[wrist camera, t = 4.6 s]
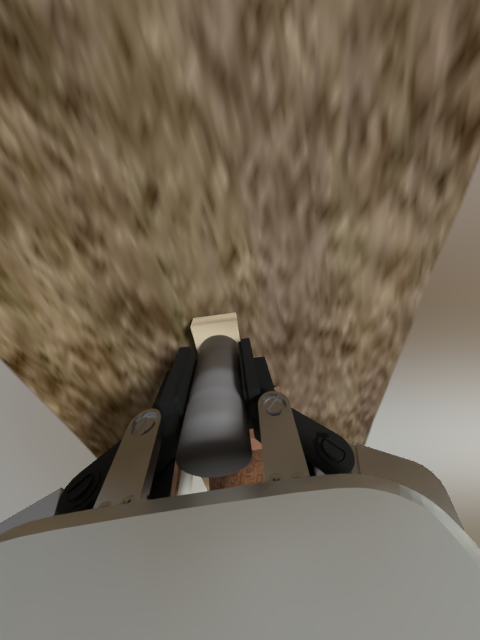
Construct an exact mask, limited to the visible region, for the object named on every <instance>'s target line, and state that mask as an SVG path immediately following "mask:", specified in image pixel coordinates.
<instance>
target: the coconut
mask: <svg viewBox="0 0 480 640" xmlns="http://www.w3.org/2000/svg"><path fill="white" fill-rule="evenodd" d="M259 483H265V476H264V465H263V454H262V449H257V450H252V459H251V461H250V463H249V464H248V465H247V466H246V467H245V468H243V469H242V470H240V471H238V472H236V473H234V474H231V475H227V476H222V477H209V487H210V491H212V490H218V489H225V488H232V487H239V486H245V485H252V484H259Z"/></svg>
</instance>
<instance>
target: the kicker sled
mask: <svg viewBox="0 0 480 640" xmlns="http://www.w3.org/2000/svg"><path fill="white" fill-rule="evenodd" d="M190 327H191V331H192V334H193V338H194V341H195V345H196V348H197V352H198V358H197V363H196V367H195V372H194V376H193V381H192V385H191V390H190V394H189V399H188V403H187V408H186V412H185V416H184V421H183V425H182V430H181V434H180V439H179V443H178V448H177V452H176V457H175V461H176V464H177V466H178V467H179V468H180V469H181V470H183V471H184V472H186V473H188V474H191V475H194V476H198V477H222V476H227V475H231V474H234V473H236V472H238V471H240V470H242V469H243V468H245V467H246V466H247V465H248V464H249V463H250V461H251V459H252V450H257V449H262V444H261V443H260V442H259V441H258V440H256V439H255V437H254V430H253V429H249V423H248V414H247V410H246V406H245V399H244V393H243V385H242V376H241V367H240V358H239V348H238V342H240V338H239V331H238V324H237V316H236V312H235V313H228V314H221V315H213V316H206V317H199V318H193V321H192V323H191V326H190ZM274 389H275V391H277V392H280V393H281V390H280V387H274Z"/></svg>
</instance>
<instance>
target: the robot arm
mask: <svg viewBox="0 0 480 640" xmlns="http://www.w3.org/2000/svg"><path fill="white" fill-rule="evenodd" d="M238 348H239V358H240V367H241V376H242V385H243V393H244V399H245V406H246V410H247V414H248V423H249V429H253V430H254V437H255V439H256V440H258V441H259V442H260V443H261V444H262V454H263V465H264V476H265V483H259V484H252V485H245V486H239V487H232V488H225V489H218V490H212V491H205V492H199V493H192V494H185V495H179V496H175V492H176V484H177V477H178V469H179V467H178V466H177V464H176V461H175V457H176V452H177V448H178V443H179V439H180V434H181V430H182V425H183V421H184V416H185V412H186V408H187V403H188V399H189V394H190V390H191V385H192V381H193V376H194V372H195V367H196V363H197V359H196V356H195V352H194V349H193V348H190V347H181V348H180V349H179V351H178V354H177V356H176V359H175V362H174V364H173V367H172V369H171V370H169V371H168V372H167V374H166V376H165V378H164V381H163V383H162V385H161V388H160V390H159V393H158V395H157V397H156V400H155V402H154V405H153V407H152V409H147V410H144V411H142V412H141V413H139V414H138V415H136V416H135V417H134V418H133V419H132V421H131V422H130V423H129V425H128V427H127V429H126V432H125V434H124V437H123V439H122V440H121V441H119V442H118V443H117V444H115V445H114V446H113V447H112V448H110V449H109V450H108V451H107V452H105V453H104V454H103V455H102V456H100V457H99V458H98V459H97V460H95V461H94V462H93V463H92V464H90V465H89V466H88V467H87V468H85V469H84V470H83V471H81V472H80V473H79V474H78V475H77V476H76V477H75V478H73V479H72V481H71V482H70V483H69V484H68V485H67V486H66V488H65V489H62V488H60V489H58V490H56V491H55V492H53V493H51V494H49V495H48V496H46V497H44V498H43V499H41V500H39V501H37V502H36V503H34V504H32V505H30V506H29V507H27V508H25V509H24V510H22V511H20V512H18V513H17V514H15V515H13V516H12V517H10V518H8V519H6V520H5V521H3V522H1V523H0V640H480V548H479V547H478V546H477V544H476V543H475V542H474V541H473V540H472V539H471V538H470V537H469V536H468V535H467V534H466V532H465V531H464V529H463V526H462V524H461V522H460V520H459V517H458V515H457V513H456V511H455V509H454V506H453V504H452V502H451V500H450V497H449V495H448V493H447V491H446V489H445V488H444V486H443V485H442V483H441V481H440V480H439V479H438V478H437V477H436V476H435V475H434V474H433V473H432V472H431V471H430V470H428V469H427V468H426V467H424V466H423V465H420V464H418V463H416V462H414V461H410V460H408V459H405V458H401V457H398V456H395V455H392V454H389V453H386V452H382V451H379V450H376V449H373V448H370V447H366V446H363V445H360V444H357V443H356V446H355V445H352V444H349V443H347V442H346V441H345V440H344V439H343V438H342V437H341V436H339V435H338V434H336V433H334V432H333V431H331V430H329V429H327V428H326V427H324V426H322V425H320V424H319V423H317V422H315V421H313V420H312V419H310V418H308V417H306V416H305V415H303V414H301V413H300V412H298V411H296V410H294V409H293V408H291V406H290V403H289V400H288V399H287V397H286V396H285V395H283V394H282V393H280V392H277V391H275V389H274V386H273V383H272V379H271V376H270V373H269V370H268V366H267V363H266V360H265V357H258V358H253V353H252V349H251V344H250V340H249V338H245V339H241V341H240V342H238Z"/></svg>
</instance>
